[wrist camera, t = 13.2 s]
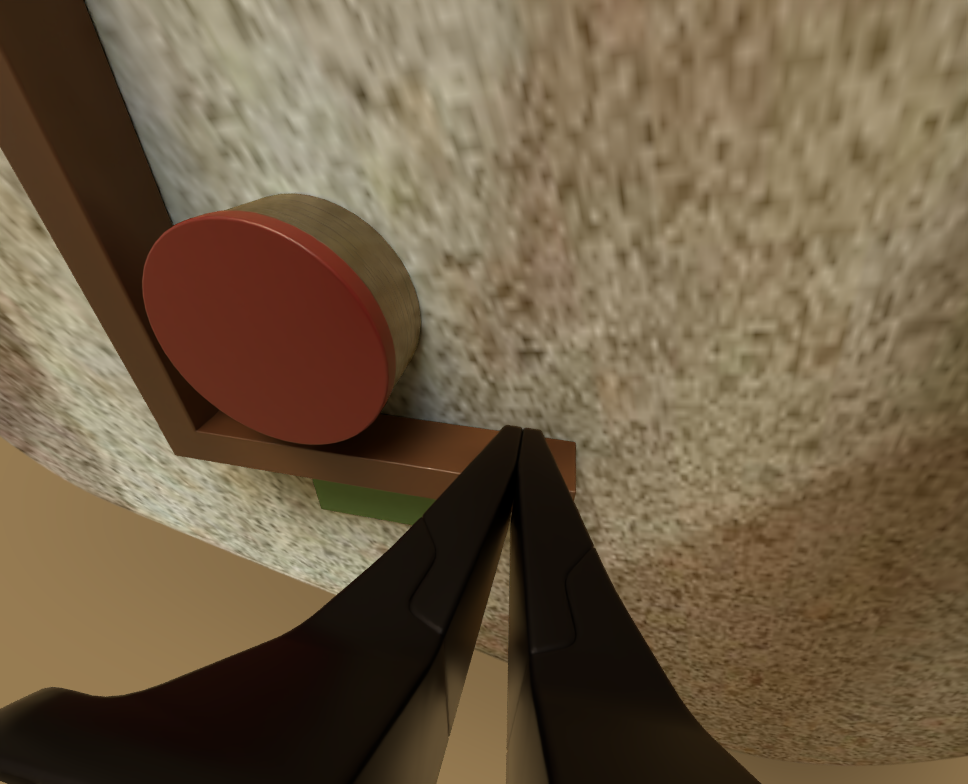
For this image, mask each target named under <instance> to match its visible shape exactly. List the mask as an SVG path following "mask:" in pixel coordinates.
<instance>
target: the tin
mask: <svg viewBox="0 0 968 784" xmlns="http://www.w3.org/2000/svg"><path fill="white" fill-rule="evenodd" d="M142 288H143V299H144V304H145V309H146V312H147V316H148V319H149V322H150V325H151V327H152V329H153V331H154V333H155V336H156V338H157V340H158V342H159V343H160V345H161V347H162V349H163V350H164V352H165V353H166V355H167V356H168V358H169V359H170V361H171V362H172V364H173V365H174V366H175V368H176V369H177V370H178V371H179V372H180V374H181V375H182V376H183V377H184V378H185V379H186V380H187V381H188V383H189V384H190V385H191V386H192V387H193V388H194V389H195V390H196V391H197V392H199V393H200V394H201V395H202V396H203V397H204V398H205V399H206V400H208V401H209V402H210V403H211V404H213V405H214V406H215V407H217V408H218V409H219V410H221V411H222V412H224V413H225V414H227V415H228V416H230V417H231V418H233V419H234V420H236V421H238V422H240V423H241V424H243V425H245V426H247V427H249V428H251V429H253V430H255V431H258V432H260V433H263V434H265V435H268V436H270V437H273V438H277V439H280V440H284V441H288V442H293V443H299V444H309V445H322V444H331V443H336V442H340V441H344V440H347V439H349V438H351V437H353V436H356V435H358V434H359V433H361V432H362V431H364V430H365V429H366V428H368V427H369V426H370V425H371V424H372V423H373V422H374V421H375V419H376V418H377V416H378V415H379V414H380V412H381V411H382V409H383V407H384V406H385V404H386V403H387V401H388V398H389V396H390V394H391V392H392V390H393V388H394V387H395V385H396V383H397V382H398V380H399V379H400V377H401V375H402V374H403V372H404V371H405V369H406V367H407V366H408V364H409V363H410V361H411V359H412V357H413V355H414V353H415V351H416V348H417V345H418V341H419V336H420V328H421V323H420V310H419V303H418V299H417V295H416V292H415V288H414V286H413V283H412V281H411V279H410V276H409V274H408V272H407V270H406V269H405V267H404V265H403V263H402V261H401V260H400V258H399V257H398V256H397V254H396V253H395V251H394V250H393V249H392V247H391V246H390V245H389V244H388V243H387V242H386V241H385V239H384V238H383V237H382V236H381V235H380V234H379V233H378V232H377V231H376V230H374V229H373V228H372V227H371V226H370V225H369V224H368V223H366V222H365V221H364V220H362V219H361V218H359V217H358V216H357V215H355V214H354V213H352V212H350V211H348V210H346V209H345V208H343V207H341V206H339V205H337V204H334V203H332V202H330V201H327V200H325V199H321V198H317V197H314V196H310V195H303V194H295V193H294V194H277V195H272V196H267V197H264V198H261V199H258V200H255V201H252V202H249V203H245V204H242V205H239V206H236V207H233V208H230V209H227V210H224V211H217V212H212V213H207V214H203V215H200V216H197V217H194V218H190V219H188V220H185V221H183V222H180V223H178V224H176V225H174V226H173V227H171V228H170V229H168V230H167V231H165V232H164V233H163V234H162V235H161V236H160V237H159V239H158V240H157V241H156V242H155V243H154V245H153V247H152V248H151V250H150V252H149V254H148V256H147V259H146V262H145V265H144V270H143V278H142Z"/></svg>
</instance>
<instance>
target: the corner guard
mask: <svg viewBox="0 0 968 784" xmlns="http://www.w3.org/2000/svg"><path fill="white" fill-rule="evenodd" d="M0 148H1V149H2V151H3V153H4V155H5V156H6V158H7V160H8V162H9V163H10V165H11V167H12V169H13V170H14V172H15V174H16V176H17V177H18V179H19V181H20V183H21V184H22V186H23V188H24V190H25V191H26V193H27V195H28V197H29V198H30V200H31V202H32V204H33V205H34V207H35V209H36V211H37V212H38V214H39V216H40V218H41V219H42V221H43V223H44V225H45V227H46V228H47V230H48V232H49V234H50V235H51V237H52V239H53V241H54V242H55V244H56V246H57V248H58V249H59V251H60V253H61V255H62V256H63V258H64V260H65V262H66V263H67V265H68V267H69V269H70V270H71V272H72V274H73V276H74V277H75V279H76V281H77V283H78V284H79V286H80V288H81V290H82V291H83V293H84V295H85V297H86V298H87V300H88V302H89V304H90V305H91V307H92V309H93V311H94V313H95V314H96V316H97V318H98V320H99V321H100V323H101V325H102V327H103V328H104V330H105V332H106V334H107V335H108V337H109V339H110V341H111V342H112V344H113V346H114V348H115V349H116V351H117V353H118V355H119V356H120V358H121V360H122V362H123V363H124V365H125V367H126V369H127V370H128V372H129V374H130V376H131V377H132V379H133V381H134V383H135V384H136V386H137V388H138V390H139V391H140V393H141V395H142V397H143V399H144V400H145V402H146V404H147V406H148V407H149V409H150V411H151V413H152V414H153V416H154V418H155V420H156V421H157V423H158V425H159V427H160V429H161V431H162V433H163V434H164V436H165V438H166V440H167V441H168V443H169V445H170V447H171V448H172V450H173V452H174V454H175V455H177V456H182V457H188V458H194V459H200V460H206V461H212V462H218V463H224V464H230V465H236V466H241V467H247V468H253V469H259V470H265V471H271V472H277V473H283V474H289V475H295V476H300V477H306V478H312V479H318V480H324V481H330V482H336V483H342V484H348V485H354V486H359V487H365V488H371V489H377V490H383V491H389V492H395V493H401V494H407V495H412V496H418V497H424V498H430V499H436V500H437V499H438V497H439V496H440V495H441V494H442V493H443V492H444V491H445V490H446V489H447V488H448V487H449V486H450V484H451V483H452V482H453V481H454V480H455V479H456V478H457V477H458V476H459V475H460V474H461V472H462V471H463V470H464V469H465V468H466V467H467V466H468V465H469V464H470V463H471V462H472V461H473V459H474V458H475V457H476V456H477V455H478V454H479V453H480V452H481V451H482V450H483V449H484V448H485V446H486V445H487V444H488V443H489V442H490V441H491V440H492V439H493V438H494V437H495V436H496V434H497V433H498V432H499V431H495V430H488V429H481V428H474V427H467V426H460V425H453V424H447V423H440V422H433V421H426V420H419V419H412V418H405V417H398V416H392V415H385V414H379V415H378V416H377V418H376V419H375V421H374V422H373V423H372V424H371V425H370V426H369V427H368V428H366V429H365V430H364V431H362V432H361V433H359V434H358V435H356V436H353V437H351V438H349V439H347V440H344V441H340V442H336V443H331V444H322V445H309V444H299V443H293V442H288V441H284V440H280V439H277V438H273V437H270V436H268V435H265V434H263V433H260V432H258V431H255V430H253V429H251V428H249V427H247V426H245V425H243V424H241V423H240V422H238V421H236V420H234V419H233V418H231V417H230V416H228V415H227V414H225V413H224V412H222V411H221V410H219V409H218V408H217V407H215V406H214V405H213V404H211V403H210V402H209V401H208V400H206V399H205V398H204V397H203V396H202V395H201V394H200V393H199V392H197V391H196V390H195V389H194V388H193V387H192V386H191V385H190V384H189V383H188V381H187V380H186V379H185V378H184V377H183V376H182V375H181V374H180V372H179V371H178V370H177V369H176V368H175V366H174V365H173V364H172V362H171V361H170V359H169V358H168V356H167V355H166V353H165V352H164V350H163V349H162V347H161V345H160V343H159V342H158V340H157V338H156V336H155V333H154V331H153V329H152V327H151V325H150V322H149V319H148V316H147V312H146V309H145V304H144V299H143V288H142V278H143V270H144V265H145V262H146V259H147V256H148V254H149V252H150V250H151V248H152V247H153V245H154V243H155V242H156V241H157V240H158V239H159V237H160V236H161V235H162V234H163V233H164V232H165V231H167V230H168V229H170V228H171V227H173V226H172V223H171V221H170V218H169V216H168V213H167V211H166V208H165V206H164V203H163V201H162V198H161V196H160V193H159V191H158V188H157V186H156V183H155V180H154V178H153V175H152V173H151V170H150V168H149V165H148V163H147V160H146V158H145V155H144V153H143V150H142V148H141V145H140V142H139V140H138V137H137V135H136V132H135V130H134V127H133V125H132V122H131V120H130V117H129V115H128V112H127V110H126V107H125V105H124V102H123V99H122V97H121V94H120V92H119V89H118V87H117V84H116V82H115V79H114V77H113V74H112V72H111V69H110V67H109V64H108V61H107V59H106V56H105V54H104V51H103V49H102V46H101V44H100V41H99V39H98V36H97V34H96V31H95V29H94V26H93V24H92V21H91V18H90V16H89V13H88V11H87V8H86V6H85V3H84V1H83V0H0ZM545 439H546V441H547V444H548V446H549V448H550V450H551V452H552V455H553V457H554V459H555V461H556V463H557V466H558V468H559V470H560V472H561V474H562V477H563V479H564V481H565V483H566V485H567V488H568V490H569V492H570V494H571V496H572V498H573V501H574V498H575V494H576V443H575V442H571V441H564V440H557V439H550V438H545ZM512 506H513V505H512Z"/></svg>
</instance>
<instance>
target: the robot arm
mask: <svg viewBox="0 0 968 784" xmlns="http://www.w3.org/2000/svg"><path fill="white" fill-rule="evenodd" d="M512 505H513V506H512ZM511 512H512V515H511ZM510 518H511V527H510V581H509V641H508V702H507V759H506V760H507V761H506V784H761V783H760V782H759V781H758V780H757V779H756V778H755V777H754V776H753V775H751V774H750V773H749V772H748V771H747V770H746V769H745V768H744V767H743V766H742V765H741V764H740V763H739V762H738V761H737V760H736V759H735V758H734V757H733V756H731V755H730V754H729V753H728V752H727V751H726V750H725V749H724V748H723V747H722V746H721V745H720V744H719V743H718V742H717V741H716V740H715V739H714V738H713V737H712V736H711V735H710V734H709V733H708V732H707V731H706V730H705V729H704V728H703V727H702V726H701V725H700V723H699V722H698V721H697V720H696V719H695V717H694V716H693V715H692V714H691V712H690V711H689V710H688V708H687V707H686V706H685V704H684V703H683V701H682V700H681V699H680V697H679V695H678V694H677V692H676V691H675V689H674V687H673V686H672V684H671V683H670V681H669V679H668V678H667V676H666V674H665V673H664V671H663V669H662V668H661V666H660V664H659V663H658V661H657V659H656V658H655V656H654V654H653V653H652V651H651V649H650V648H649V646H648V644H647V643H646V641H645V640H644V638H643V636H642V635H641V633H640V631H639V630H638V628H637V626H636V625H635V623H634V621H633V620H632V618H631V616H630V615H629V613H628V611H627V609H626V608H625V606H624V604H623V602H622V601H621V599H620V597H619V595H618V594H617V592H616V590H615V588H614V586H613V584H612V582H611V580H610V578H609V576H608V574H607V572H606V570H605V568H604V566H603V564H602V562H601V559H600V557H599V555H598V553H597V551H596V549H595V548H593V547H594V545H593V542H592V540H591V538H590V536H589V534H588V531H587V529H586V527H585V525H584V523H583V520H582V518H581V516H580V514H579V512H578V509H577V507H576V505H575V503H574V501H573V498H572V496H571V494H570V492H569V490H568V488H567V485H566V483H565V481H564V479H563V477H562V474H561V472H560V470H559V468H558V466H557V463H556V461H555V459H554V457H553V455H552V452H551V450H550V448H549V446H548V444H547V441H546V439H545V437H544V435H543V433H542V431H541V430H538V429H531V428H524V429H522V428H521V427H517V426H510V425H506V426H504V427H503V428H502V429H501V430H500V431H499V432H498V433H497V434H496V436H495V437H494V438H493V439H492V440H491V441H490V442H489V443H488V444H487V445H486V446H485V448H484V449H483V450H482V451H481V452H480V453H479V454H478V455H477V456H476V457H475V458H474V459H473V461H472V462H471V463H470V464H469V465H468V466H467V467H466V468H465V469H464V470H463V471H462V472H461V474H460V475H459V476H458V477H457V478H456V479H455V480H454V481H453V482H452V483H451V484H450V486H449V487H448V488H447V489H446V490H445V491H444V492H443V493H442V494H441V495H440V496H439V497H438V499H437V500H436V501H435V502H434V503H433V504H432V505H431V506H430V507H429V508H428V509H427V510H426V512H425V513H424V514H423V515H422V517H420V518H419V519H418V520H417V521H416V522H415V523H414V524H413V525H412V527H411V528H410V529H409V530H408V531H407V532H406V533H405V534H404V535H403V536H402V537H401V538H400V539H399V540H398V541H397V542H396V543H395V544H394V545H393V546H392V547H391V548H390V549H389V550H388V551H387V552H385V553H384V554H383V555H382V556H381V557H380V558H379V559H378V560H377V561H375V562H374V563H373V564H372V565H371V566H370V567H369V568H368V569H366V570H365V571H364V572H363V573H362V574H361V575H359V576H358V577H357V578H356V579H355V580H354V581H352V582H351V583H350V584H349V585H348V586H347V587H345V588H344V589H343V590H342V591H341V592H340V593H338V594H337V595H336V596H335V597H334V598H333V599H331V600H330V601H329V602H328V603H327V604H326V605H324V606H323V607H322V608H321V609H320V610H319V611H317V612H316V613H315V614H314V615H313V616H311V617H310V618H309V619H307V620H306V621H305V622H303V623H302V624H300V625H299V626H297V627H295V628H294V629H292V630H291V631H289V632H287V633H285V634H283V635H282V636H279V637H277V638H275V639H272V640H270V641H267V642H265V643H262V644H260V645H258V646H255V647H252V648H250V649H247V650H245V651H242V652H240V653H237V654H235V655H232V656H230V657H228V658H225V659H222V660H220V661H217V662H215V663H213V664H210V665H208V666H205V667H203V668H200V669H198V670H195V671H193V672H190V673H188V674H185V675H183V676H180V677H178V678H175V679H173V680H170V681H168V682H165V683H163V684H160V685H157V686H154V687H151V688H149V689H146V690H143V691H139V692H134V693H130V694H126V695H119V696H109V697H102V696H92V695H89V694H85V693H80V692H77V691H73V690H68V689H64V688H56V687H50V688H44V689H41V690H39V691H37V692H34V693H32V694H30V695H28V696H26V697H24V698H22V699H20V700H17V701H15V702H13V703H11V704H9V705H7V706H5V707H3V708H1V709H0V781H2V782H5V783H7V784H436V782H437V779H438V775H439V772H440V768H441V764H442V761H443V758H444V754H445V750H446V747H447V743H448V737H449V736H450V733H451V729H452V725H453V722H454V718H455V715H456V711H457V707H458V704H459V700H460V697H461V693H462V690H463V686H464V683H465V679H466V675H467V672H468V669H469V665H470V662H471V658H472V654H473V651H474V647H475V644H476V640H477V637H478V633H479V630H480V626H481V623H482V619H483V616H484V612H485V608H486V605H487V601H488V598H489V594H490V591H491V587H492V584H493V580H494V577H495V573H496V569H497V566H498V562H499V559H500V555H501V552H502V548H503V545H504V541H505V538H506V534H507V530H508V526H509V522H510Z"/></svg>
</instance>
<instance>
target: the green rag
mask: <svg viewBox="0 0 968 784" xmlns="http://www.w3.org/2000/svg"><path fill="white" fill-rule="evenodd" d="M312 480H313V483H314V486H315V489H316V493H317V496H318V499H319V502H320V506H321V509H325V510H331V511H336V512H342V513H347V514H353V515H359V516H364V517H370V518H375V519H381V520H387V521H392V522H398V523H403V524H409V525H413V524H414V523H415V522H416V521H417V520H418V519H419V518H420V517H422V515H423V514H424V513H425V512H426V510H427V509H428V508H429V507H430V506H431V505H432V504H433V503H434V502H435V501H436V499H430V498H424V497H418V496H412V495H407V494H401V493H395V492H389V491H383V490H377V489H371V488H365V487H359V486H354V485H348V484H342V483H336V482H330V481H324V480H318V479H312Z"/></svg>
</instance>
